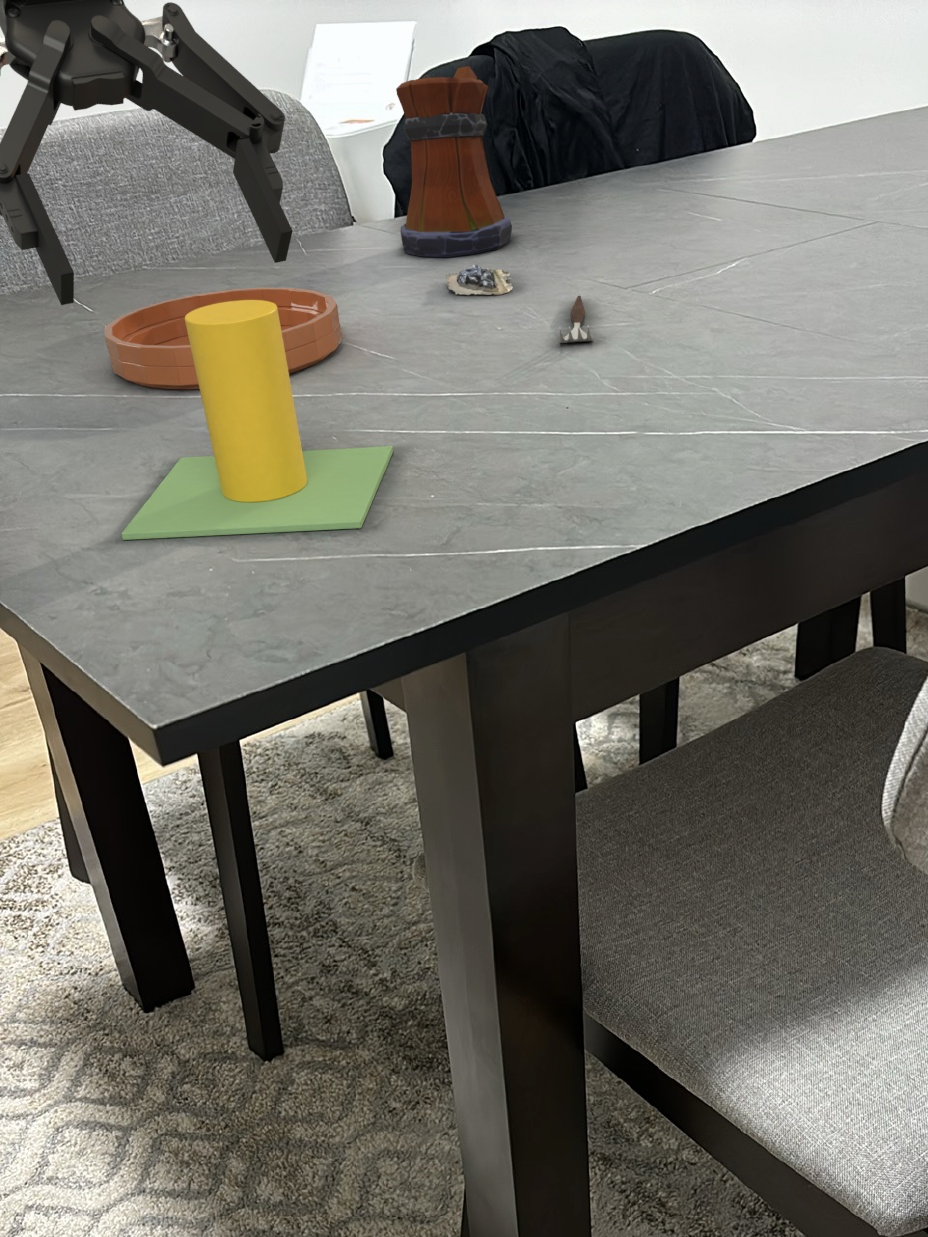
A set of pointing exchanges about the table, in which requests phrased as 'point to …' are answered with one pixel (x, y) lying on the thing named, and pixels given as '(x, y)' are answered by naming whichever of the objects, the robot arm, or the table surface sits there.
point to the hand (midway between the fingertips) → (179, 268)
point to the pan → (160, 346)
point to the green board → (325, 503)
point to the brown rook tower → (449, 169)
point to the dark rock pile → (479, 281)
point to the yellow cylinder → (247, 399)
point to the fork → (576, 325)
